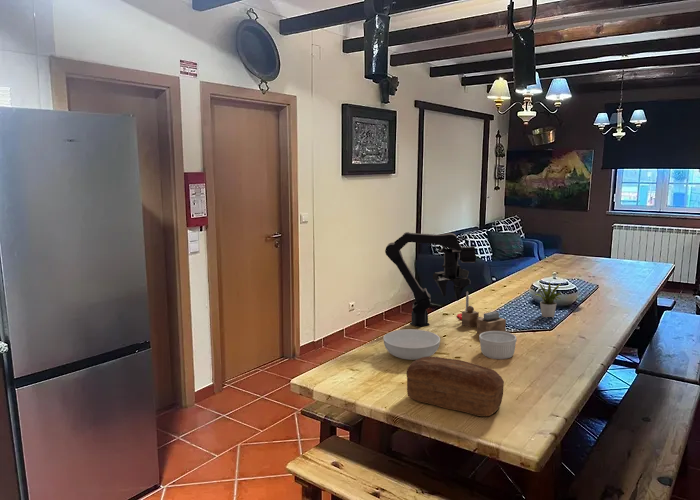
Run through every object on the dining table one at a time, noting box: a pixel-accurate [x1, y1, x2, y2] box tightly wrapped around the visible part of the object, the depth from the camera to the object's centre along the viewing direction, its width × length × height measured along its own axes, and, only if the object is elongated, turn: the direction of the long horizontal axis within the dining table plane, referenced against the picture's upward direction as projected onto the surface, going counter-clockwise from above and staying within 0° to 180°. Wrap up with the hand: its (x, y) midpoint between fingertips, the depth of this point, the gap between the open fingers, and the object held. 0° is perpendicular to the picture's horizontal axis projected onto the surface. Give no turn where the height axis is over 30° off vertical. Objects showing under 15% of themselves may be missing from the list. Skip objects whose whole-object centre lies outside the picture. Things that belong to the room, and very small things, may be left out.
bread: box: [406, 356, 505, 417], centre depth 156 cm, size 14×28×12 cm, turn 57°
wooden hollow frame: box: [461, 305, 507, 335], centre depth 222 cm, size 9×19×9 cm, turn 28°
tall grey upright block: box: [483, 311, 500, 322], centre depth 216 cm, size 6×2×6 cm, turn 118°
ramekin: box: [478, 331, 518, 360], centre depth 193 cm, size 13×13×7 cm
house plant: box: [531, 281, 563, 318], centre depth 237 cm, size 14×14×16 cm
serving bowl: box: [382, 328, 441, 361], centre depth 195 cm, size 21×21×7 cm
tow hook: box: [456, 291, 470, 321], centre depth 240 cm, size 8×13×9 cm
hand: (450, 298), depth 228 cm, fingers open, 9 cm apart
